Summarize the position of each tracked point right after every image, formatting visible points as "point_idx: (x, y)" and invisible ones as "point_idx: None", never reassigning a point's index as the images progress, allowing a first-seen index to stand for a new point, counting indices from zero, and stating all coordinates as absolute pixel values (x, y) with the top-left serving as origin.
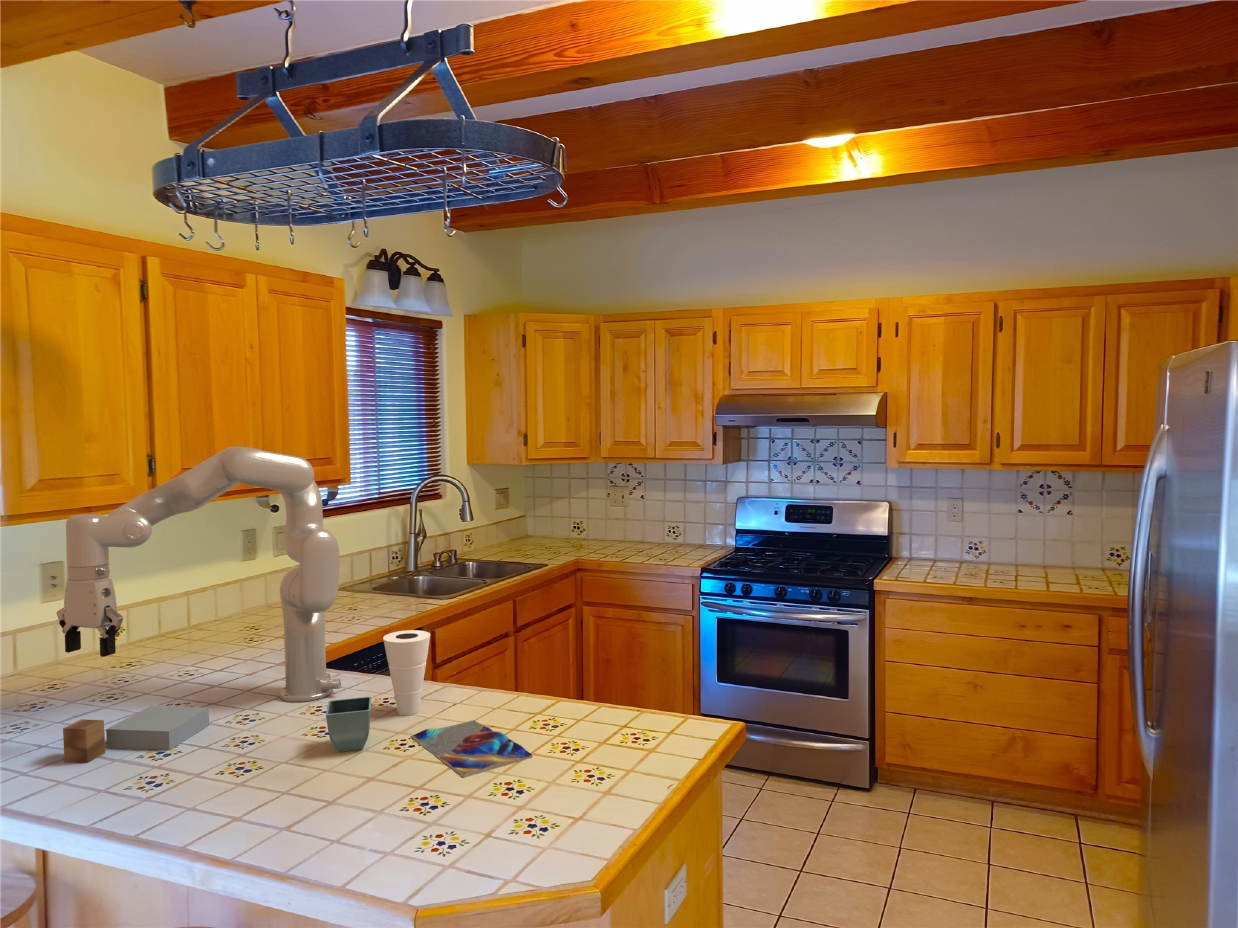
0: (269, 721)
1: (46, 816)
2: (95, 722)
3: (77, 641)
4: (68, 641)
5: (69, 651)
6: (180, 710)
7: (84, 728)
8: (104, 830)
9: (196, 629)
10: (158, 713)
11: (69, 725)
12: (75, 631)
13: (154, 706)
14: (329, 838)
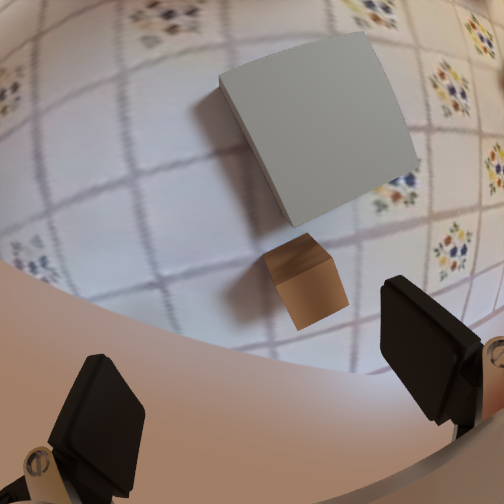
0: (410, 9)
1: None
2: (328, 275)
3: (103, 408)
4: (135, 457)
5: (141, 407)
6: (327, 62)
7: (342, 305)
8: (472, 325)
9: None
10: (300, 98)
11: (292, 317)
12: (86, 471)
13: (234, 72)
14: None
